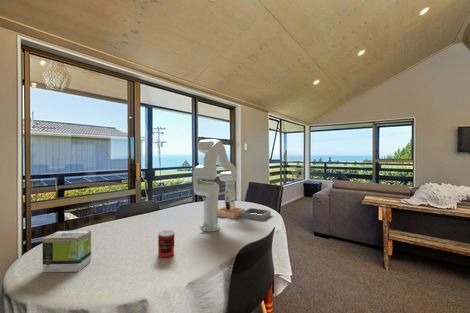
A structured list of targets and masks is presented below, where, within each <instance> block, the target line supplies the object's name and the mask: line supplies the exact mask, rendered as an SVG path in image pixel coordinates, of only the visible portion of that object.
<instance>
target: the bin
mask: <svg viewBox="0 0 470 313" xmlns="http://www.w3.org/2000/svg"><path fill="white" fill-rule="evenodd" d="M250 213H257V214H262V215H257V214H250ZM270 216H271V210H269V209H262V208H261V209H260V208H253V207H249V208H247V209H245V211H243V212H241V214H240V216H239V217H240V218H241V219H247V220H252V219H253V220H252V221H259V222H263V221H264V220H266V219H268V218H269V217H270Z"/></svg>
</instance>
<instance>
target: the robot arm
mask: <svg viewBox="0 0 470 313" xmlns="http://www.w3.org/2000/svg"><path fill="white" fill-rule="evenodd" d="M197 149H198V151H199V152H200V153H201V154H204V157H203V165H197V166H195V167H194V169H193V172H192V181H193V184H192V185H193V191H194V194H195V195H197V196H204V197H206V198H205V199H204V201H203V222H202V225H200V226H199V229H200V230H202V231H203V232H217V231H219V230H220V228H221V226H220V225H218V223H219V220H218V218H219V217H218V209H219V194H220V184H219V183H217V182H216V181H215V182H214V180H216V178H217V174H218V170H217V168H218V167H217V166H219V167H221V168H223V169H225V170H227V171H222V172H219V175H218V178H219V180H220V181H222V182H225V193H224V204H225V203H226V209H230V204H229V203H230V201H236V188H235V187H236V186H235V185H236V183H235V182H236V181H237V180H238V179H239V178H238V172H237V168H236V166H235V165H234V164H233V162H231V161H229V158H228V155H227V151H226V147H225V145H223V141H221V140H219V139H201V140H199V141H198V143H197Z"/></svg>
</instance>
